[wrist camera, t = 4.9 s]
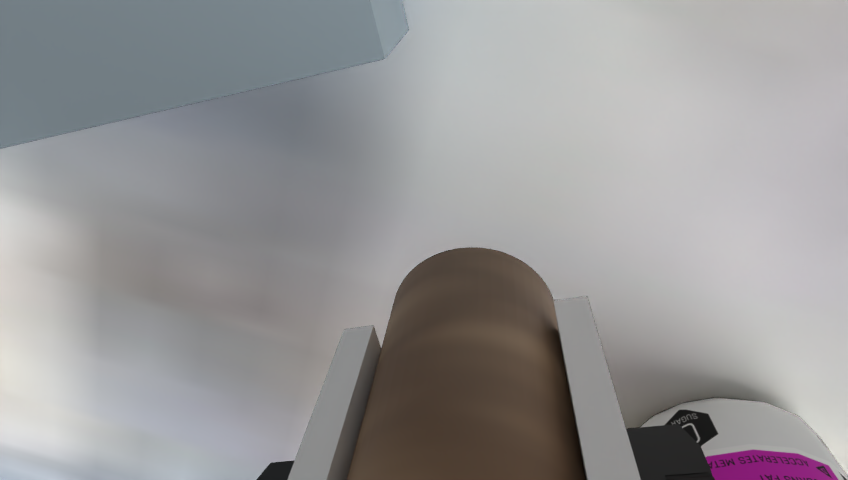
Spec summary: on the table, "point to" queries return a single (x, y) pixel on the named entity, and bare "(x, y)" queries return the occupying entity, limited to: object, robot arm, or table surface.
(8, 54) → the socket block
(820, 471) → the supplement can
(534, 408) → the walnut peg
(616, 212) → the table surface
